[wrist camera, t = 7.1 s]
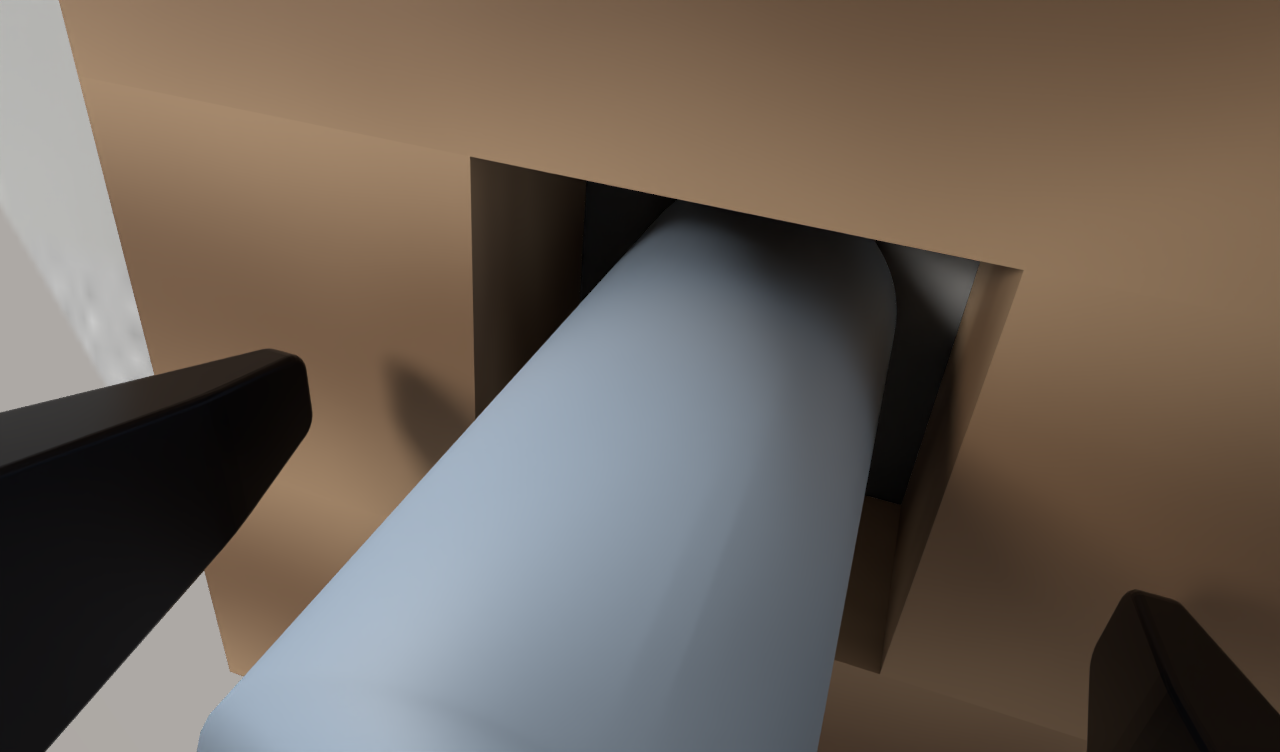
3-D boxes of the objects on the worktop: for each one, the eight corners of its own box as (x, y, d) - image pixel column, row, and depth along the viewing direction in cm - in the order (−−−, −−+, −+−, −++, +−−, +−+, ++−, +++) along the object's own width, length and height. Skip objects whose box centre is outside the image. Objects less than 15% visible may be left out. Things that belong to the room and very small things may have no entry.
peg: (861, 451, 14) (718, 1153, 6) (620, 388, 14) (247, 934, 7) (930, 209, 11) (835, 846, 4) (642, 152, 12) (138, 589, 5)
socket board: (1126, 809, 15) (1158, 1027, 12) (342, 549, 19) (229, 671, 16) (1919, -366, 7) (2605, -529, 4) (211, -429, 10) (-79, -538, 8)
